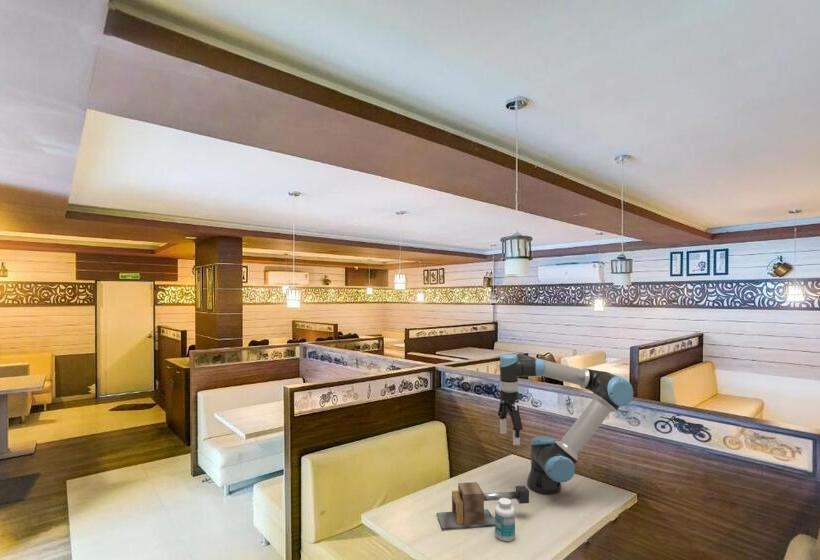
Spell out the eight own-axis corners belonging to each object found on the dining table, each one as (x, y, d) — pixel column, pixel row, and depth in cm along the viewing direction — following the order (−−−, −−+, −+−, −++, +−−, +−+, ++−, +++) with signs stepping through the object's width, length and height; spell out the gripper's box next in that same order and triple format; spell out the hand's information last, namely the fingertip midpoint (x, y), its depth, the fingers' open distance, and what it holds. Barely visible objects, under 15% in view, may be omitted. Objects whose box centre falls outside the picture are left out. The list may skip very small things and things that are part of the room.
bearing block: (488, 511, 176) (487, 480, 176) (496, 526, 165) (496, 493, 165) (436, 515, 173) (436, 483, 174) (442, 530, 162) (442, 496, 163)
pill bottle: (492, 531, 162) (492, 496, 162) (511, 530, 163) (511, 495, 163) (498, 543, 155) (498, 506, 155) (517, 542, 155) (517, 505, 155)
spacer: (457, 512, 174) (457, 490, 174) (463, 524, 165) (463, 501, 165) (451, 513, 173) (451, 491, 173) (456, 525, 164) (456, 502, 164)
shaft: (524, 497, 175) (524, 485, 175) (529, 503, 171) (529, 490, 171) (471, 501, 172) (471, 489, 172) (474, 506, 168) (474, 494, 168)
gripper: (490, 384, 195) (490, 429, 195) (513, 398, 171) (514, 450, 171) (505, 383, 197) (506, 428, 196) (530, 397, 172) (531, 448, 172)
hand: (509, 438), depth 183 cm, fingers open, 13 cm apart
